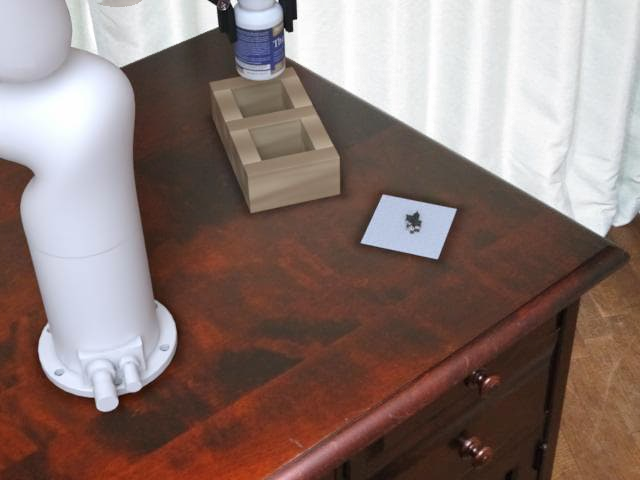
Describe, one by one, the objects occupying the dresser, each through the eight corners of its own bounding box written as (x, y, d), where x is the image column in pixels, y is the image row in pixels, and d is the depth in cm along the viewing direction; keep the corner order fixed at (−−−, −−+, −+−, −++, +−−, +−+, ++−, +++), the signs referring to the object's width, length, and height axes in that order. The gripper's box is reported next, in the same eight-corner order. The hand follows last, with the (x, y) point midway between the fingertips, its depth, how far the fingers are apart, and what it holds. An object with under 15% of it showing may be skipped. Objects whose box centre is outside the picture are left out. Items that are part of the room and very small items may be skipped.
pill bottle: (285, 82, 122) (281, 2, 115) (234, 83, 122) (227, 2, 115) (287, 54, 126) (283, -26, 119) (238, 54, 126) (231, -25, 119)
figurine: (399, 217, 119) (399, 203, 117) (425, 222, 118) (426, 208, 117) (392, 231, 117) (393, 217, 116) (419, 237, 116) (419, 223, 115)
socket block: (340, 194, 122) (339, 157, 118) (250, 213, 120) (247, 176, 116) (294, 102, 134) (292, 66, 131) (212, 118, 132) (208, 82, 129)
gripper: (165, -103, 104) (186, 65, 116) (345, -131, 107) (347, 35, 120) (150, -137, 109) (171, 27, 122) (322, -163, 113) (325, -1, 125)
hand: (258, 29), depth 121 cm, fingers closed on pill bottle, 5 cm apart
